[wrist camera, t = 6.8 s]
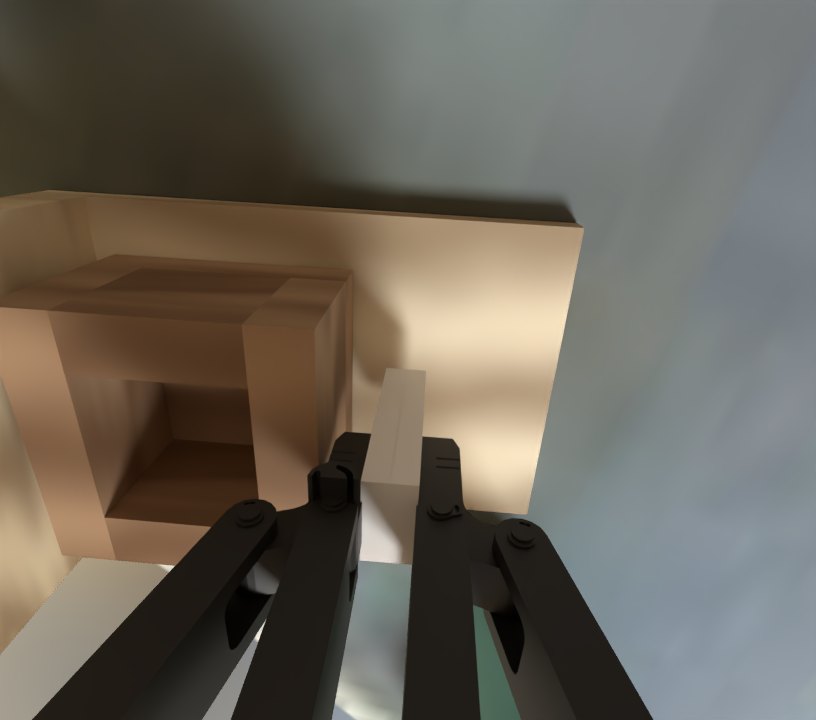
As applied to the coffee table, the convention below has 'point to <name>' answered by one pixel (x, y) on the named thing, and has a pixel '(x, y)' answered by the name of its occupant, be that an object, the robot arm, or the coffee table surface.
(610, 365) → the coffee table surface
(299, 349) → the block
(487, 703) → the dowel
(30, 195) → the jig
